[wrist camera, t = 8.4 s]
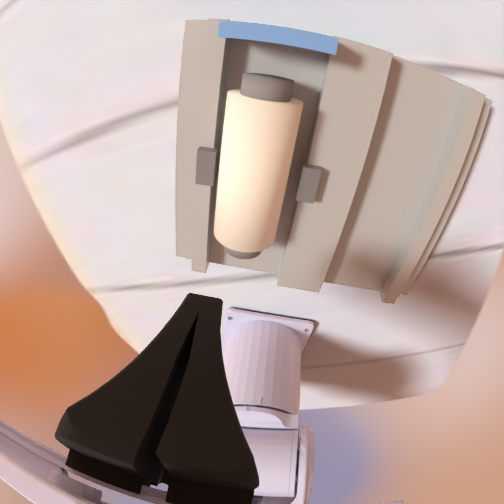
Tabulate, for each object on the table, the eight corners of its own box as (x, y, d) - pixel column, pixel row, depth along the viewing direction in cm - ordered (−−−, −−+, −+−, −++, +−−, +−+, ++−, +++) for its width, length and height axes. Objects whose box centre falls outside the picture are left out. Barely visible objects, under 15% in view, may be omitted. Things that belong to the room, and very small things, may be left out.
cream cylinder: (276, 237, 20) (265, 272, 17) (223, 223, 20) (204, 256, 18) (309, 81, 14) (304, 87, 11) (241, 69, 14) (219, 74, 11)
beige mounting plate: (402, 281, 23) (415, 323, 20) (182, 243, 23) (163, 284, 20) (480, 95, 13) (520, 114, 10) (193, 21, 13) (164, 15, 10)
